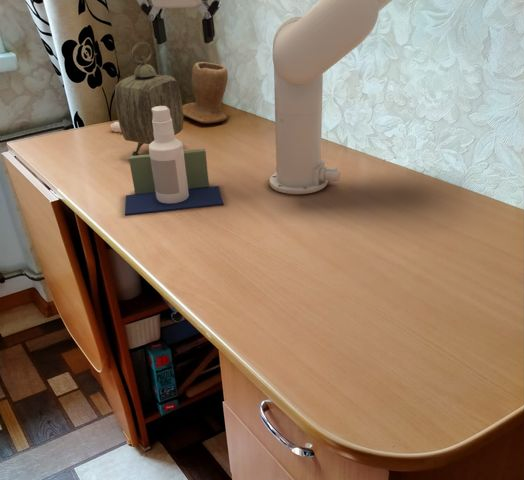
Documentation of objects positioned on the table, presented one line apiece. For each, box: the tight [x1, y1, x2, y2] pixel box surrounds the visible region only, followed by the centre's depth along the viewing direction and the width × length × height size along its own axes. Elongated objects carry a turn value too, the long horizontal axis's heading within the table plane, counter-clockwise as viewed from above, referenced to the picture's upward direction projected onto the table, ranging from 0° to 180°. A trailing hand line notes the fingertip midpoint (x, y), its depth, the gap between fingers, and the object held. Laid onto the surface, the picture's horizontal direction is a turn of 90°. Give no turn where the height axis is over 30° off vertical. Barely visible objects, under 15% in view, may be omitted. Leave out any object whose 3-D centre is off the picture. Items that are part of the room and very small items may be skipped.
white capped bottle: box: [148, 106, 189, 204], centre depth 115 cm, size 7×7×18 cm
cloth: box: [124, 185, 224, 216], centre depth 120 cm, size 10×20×1 cm, turn 100°
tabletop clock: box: [114, 41, 184, 156], centre depth 137 cm, size 14×9×25 cm, turn 149°
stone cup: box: [182, 61, 229, 124], centre depth 162 cm, size 15×12×15 cm
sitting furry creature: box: [109, 121, 122, 134], centre depth 158 cm, size 10×9×12 cm
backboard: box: [128, 148, 210, 194], centre depth 123 cm, size 2×16×8 cm, turn 100°
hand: (185, 42), depth 109 cm, fingers open, 9 cm apart
